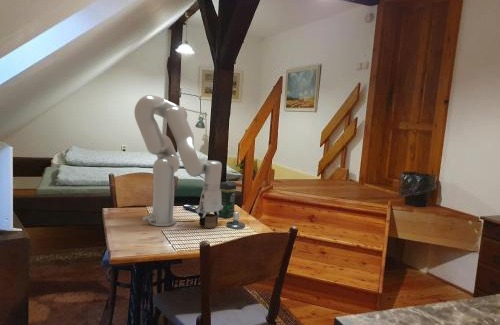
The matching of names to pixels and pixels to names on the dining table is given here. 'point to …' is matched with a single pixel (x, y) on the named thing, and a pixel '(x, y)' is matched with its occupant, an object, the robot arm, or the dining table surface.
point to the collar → (210, 220)
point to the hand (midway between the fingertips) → (208, 224)
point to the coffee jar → (227, 198)
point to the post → (235, 222)
